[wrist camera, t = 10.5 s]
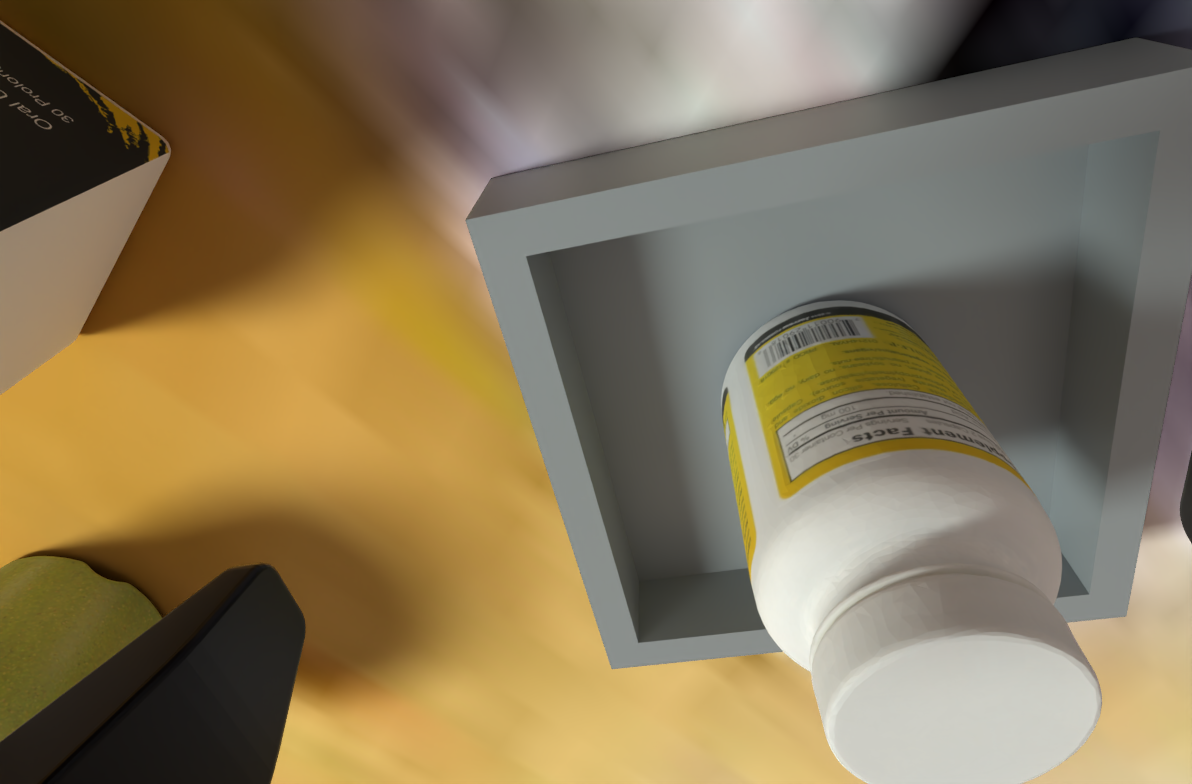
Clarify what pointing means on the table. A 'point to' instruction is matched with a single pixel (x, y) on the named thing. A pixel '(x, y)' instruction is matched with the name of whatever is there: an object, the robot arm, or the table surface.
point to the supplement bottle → (900, 555)
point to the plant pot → (59, 630)
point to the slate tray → (862, 274)
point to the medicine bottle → (61, 200)
